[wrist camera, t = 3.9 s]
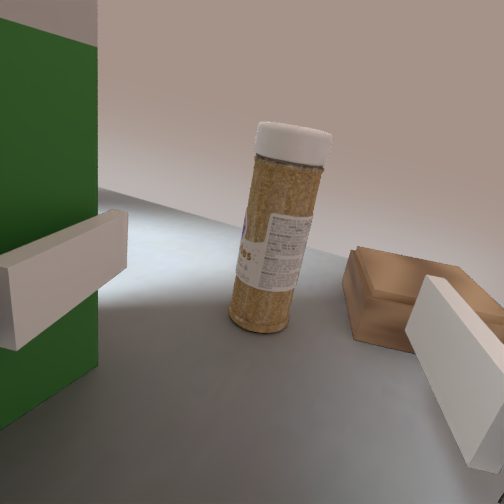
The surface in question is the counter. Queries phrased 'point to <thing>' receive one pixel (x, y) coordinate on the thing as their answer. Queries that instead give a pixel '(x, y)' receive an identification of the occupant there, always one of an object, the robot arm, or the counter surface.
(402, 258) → the walnut base
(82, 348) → the hardback book
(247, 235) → the sprinkles bottle
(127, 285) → the counter surface
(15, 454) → the counter surface
